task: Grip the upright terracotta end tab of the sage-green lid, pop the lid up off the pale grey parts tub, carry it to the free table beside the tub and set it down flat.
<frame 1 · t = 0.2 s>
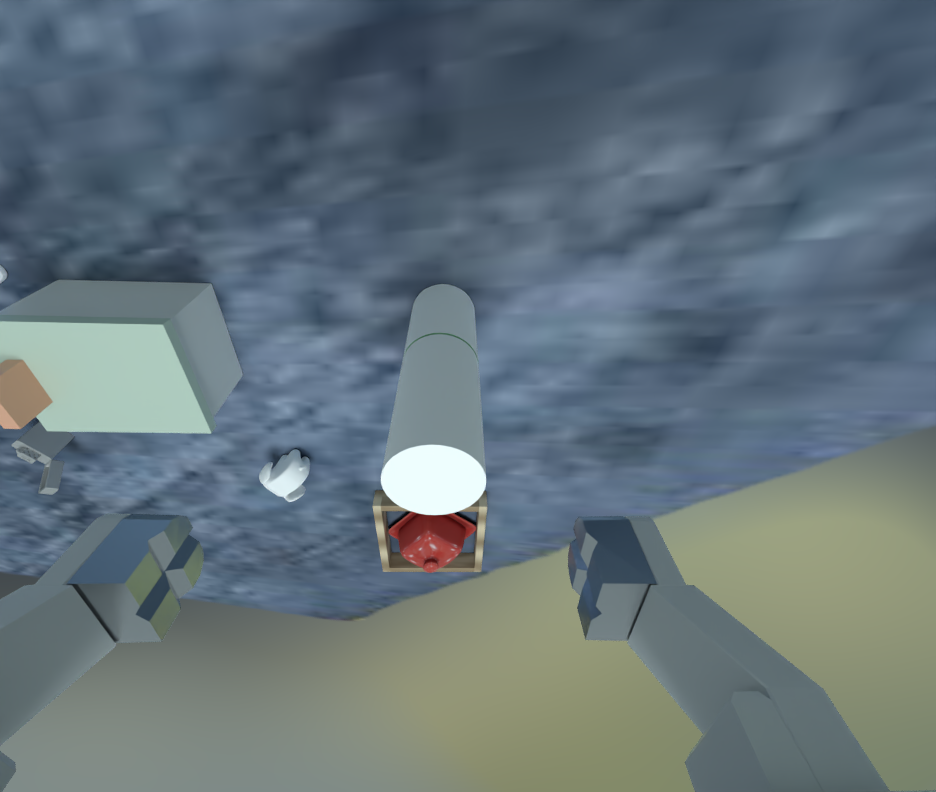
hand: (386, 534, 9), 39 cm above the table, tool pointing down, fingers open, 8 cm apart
lighter: (68, 435, 60), on the table
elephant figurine: (293, 458, 63), on the table
wooden frame: (432, 526, 73), on the table
parts tub: (158, 331, 50), on the table
lid: (107, 375, 43), point 9 cm above the table, touching parts tub
butter dish: (432, 523, 74), resting in wooden frame
cylindrical container: (443, 312, 49), on the table
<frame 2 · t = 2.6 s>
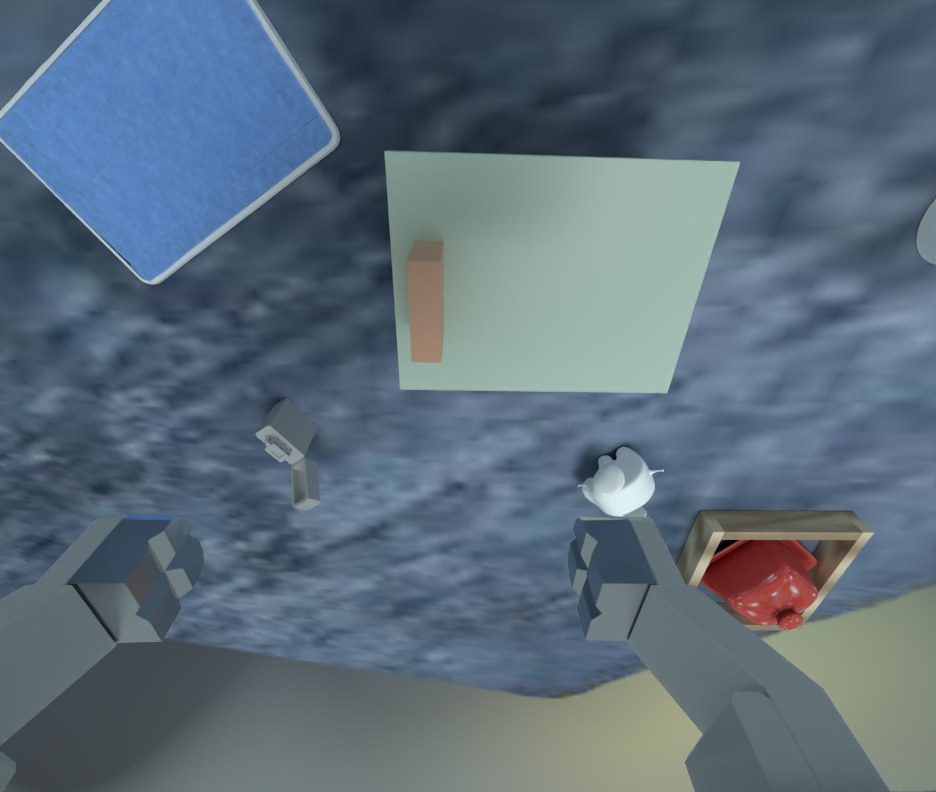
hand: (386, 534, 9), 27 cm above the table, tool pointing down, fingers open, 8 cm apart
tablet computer: (176, 133, 29), on the table
lighter: (308, 426, 41), on the table
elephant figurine: (610, 461, 44), on the table
wooden frame: (746, 564, 53), on the table
lid: (543, 284, 25), point 9 cm above the table, touching parts tub
butter dish: (746, 557, 53), resting in wooden frame
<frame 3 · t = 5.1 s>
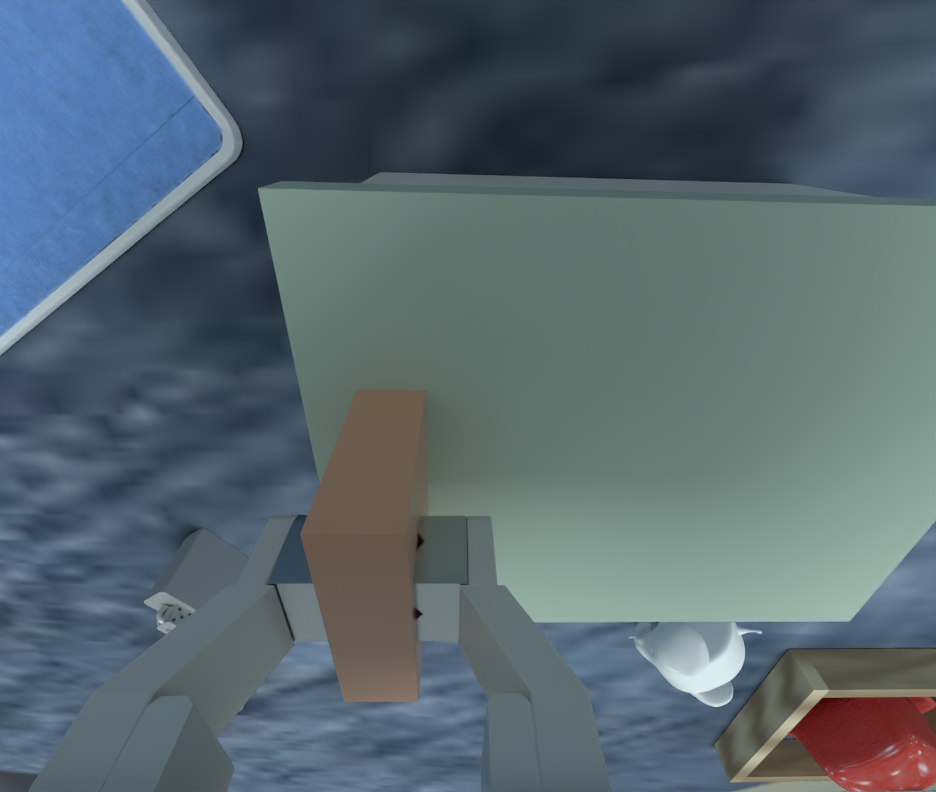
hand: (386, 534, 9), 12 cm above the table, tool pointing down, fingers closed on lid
lighter: (241, 560, 28), on the table
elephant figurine: (673, 596, 31), on the table
wooden frame: (837, 702, 40), on the table
parts tub: (566, 324, 20), on the table
lid: (635, 447, 12), point 9 cm above the table, touching gripper, parts tub
butter dish: (838, 693, 40), resting in wooden frame
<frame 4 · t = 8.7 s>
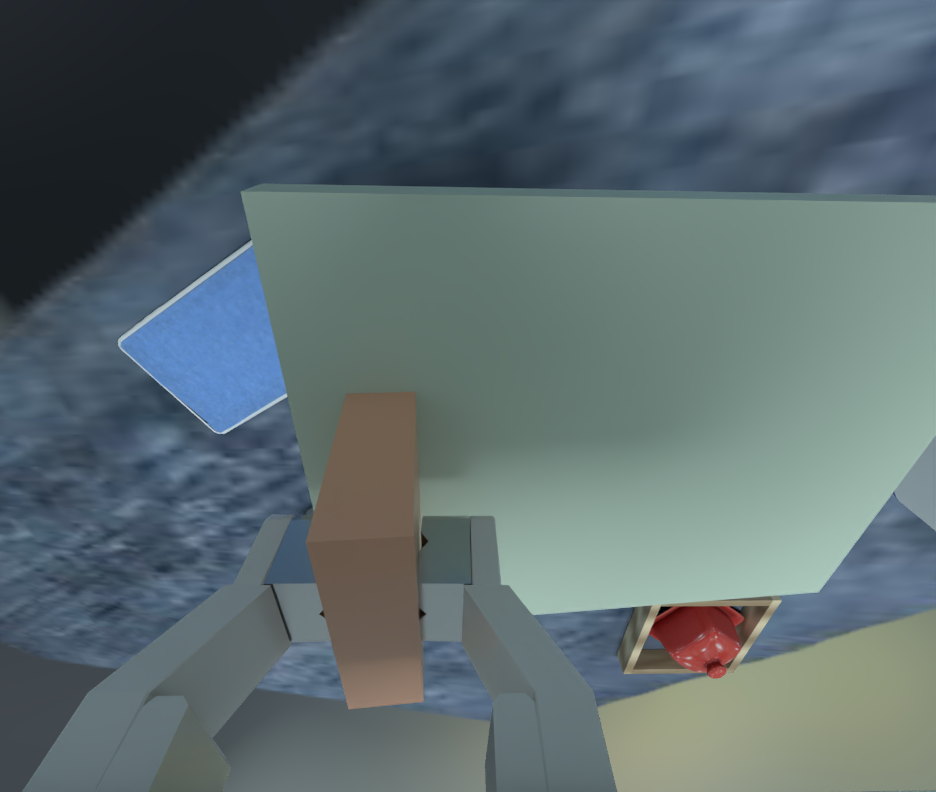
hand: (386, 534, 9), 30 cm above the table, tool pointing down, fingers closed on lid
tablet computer: (247, 339, 40), on the table
wooden frame: (687, 619, 64), on the table
lid: (619, 438, 12), point 27 cm above the table, touching gripper
butter dish: (687, 613, 64), resting in wooden frame
cylindrical container: (821, 388, 44), on the table
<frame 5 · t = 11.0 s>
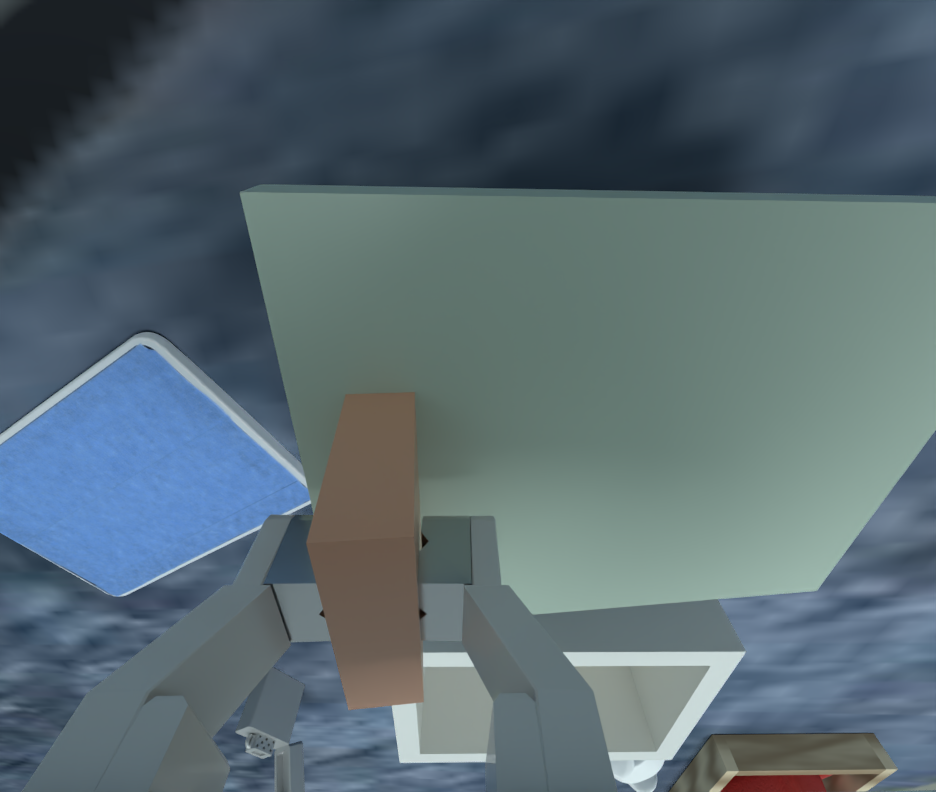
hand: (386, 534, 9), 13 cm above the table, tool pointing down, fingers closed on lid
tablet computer: (141, 478, 26), on the table
lighter: (295, 683, 38), on the table
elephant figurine: (618, 702, 41), on the table
wooden frame: (759, 768, 50), on the table
parts tub: (526, 563, 30), on the table
lid: (617, 438, 12), point 9 cm above the table, touching gripper
butter dish: (759, 760, 50), resting in wooden frame
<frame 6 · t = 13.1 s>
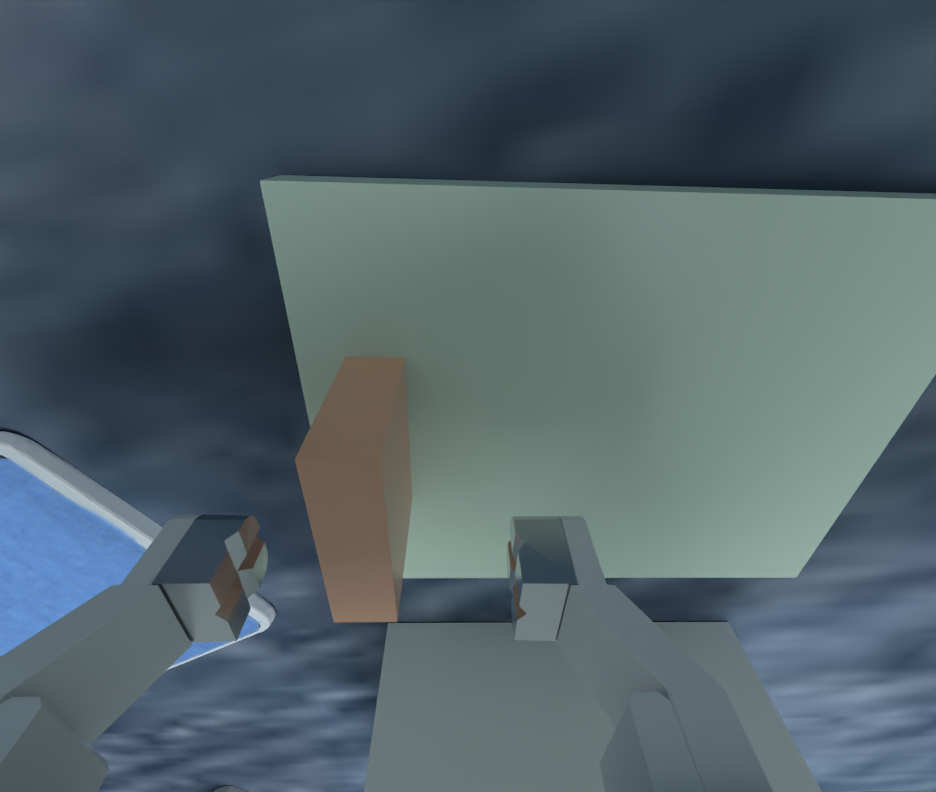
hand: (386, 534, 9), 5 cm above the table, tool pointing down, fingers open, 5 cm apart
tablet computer: (35, 596, 20), on the table
parts tub: (544, 686, 23), on the table
lid: (596, 414, 14), on the table
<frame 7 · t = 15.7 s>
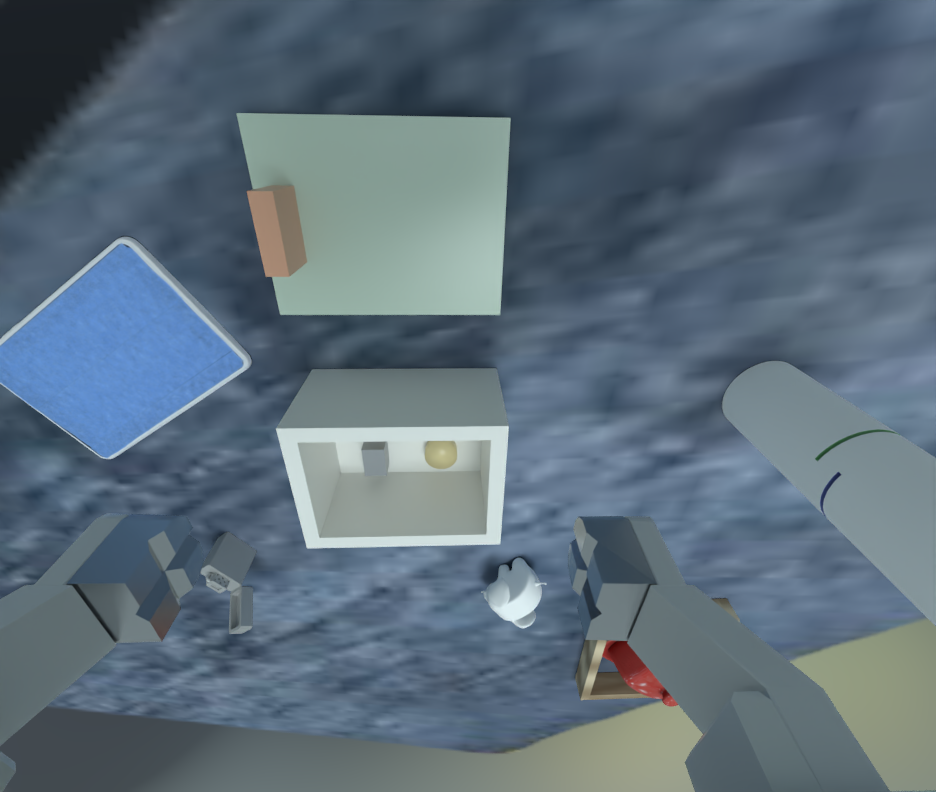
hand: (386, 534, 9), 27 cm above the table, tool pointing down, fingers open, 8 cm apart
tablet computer: (123, 357, 37), on the table
lighter: (249, 550, 49), on the table
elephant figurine: (510, 567, 52), on the table
wooden frame: (645, 640, 60), on the table
parts tub: (409, 425, 40), on the table
lid: (386, 223, 31), on the table
butter dish: (646, 634, 60), resting in wooden frame
cylindrical container: (759, 394, 40), on the table
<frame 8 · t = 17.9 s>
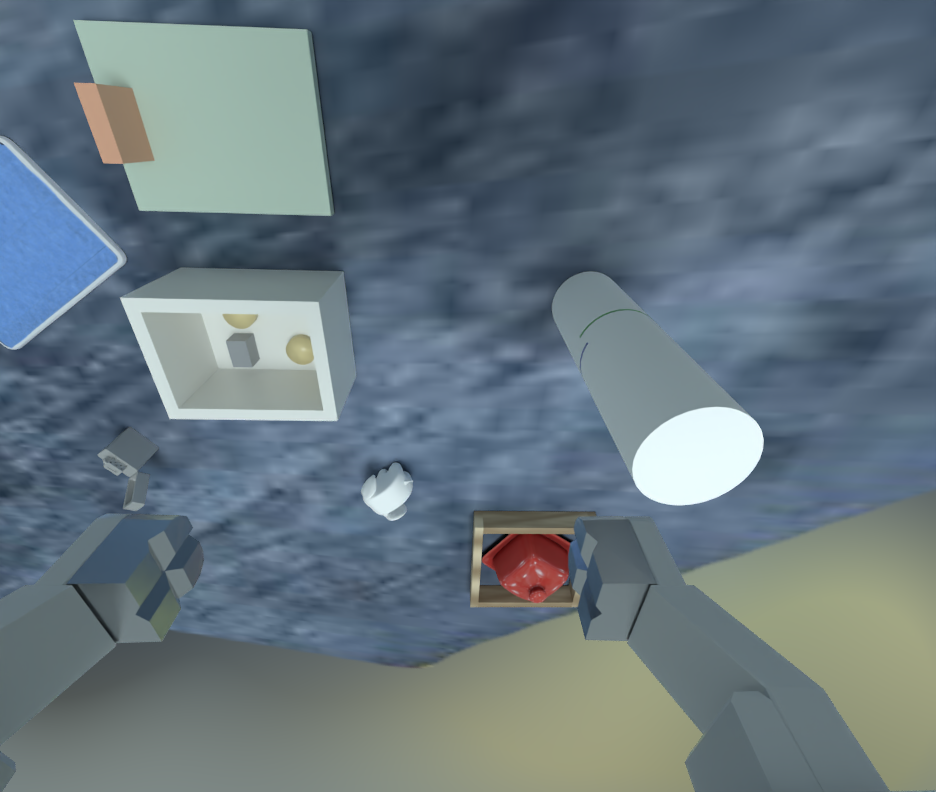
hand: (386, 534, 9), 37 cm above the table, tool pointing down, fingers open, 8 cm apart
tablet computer: (17, 253, 42), on the table
lighter: (152, 447, 55), on the table
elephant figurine: (391, 473, 58), on the table
wooden frame: (528, 553, 66), on the table
parts tub: (275, 325, 46), on the table
lid: (222, 128, 36), on the table
butter dish: (529, 548, 66), resting in wooden frame
cylindrical container: (585, 304, 46), on the table
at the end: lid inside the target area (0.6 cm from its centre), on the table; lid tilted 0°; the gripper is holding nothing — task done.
